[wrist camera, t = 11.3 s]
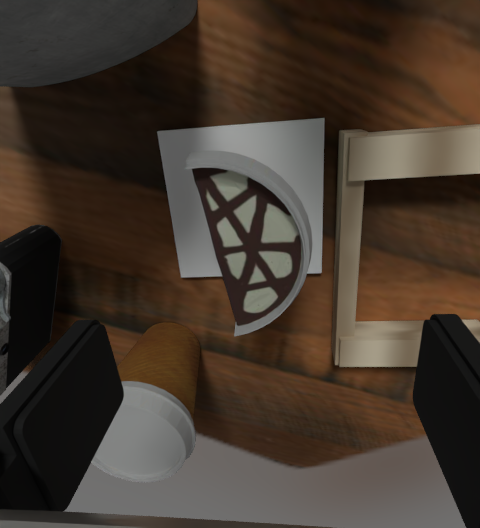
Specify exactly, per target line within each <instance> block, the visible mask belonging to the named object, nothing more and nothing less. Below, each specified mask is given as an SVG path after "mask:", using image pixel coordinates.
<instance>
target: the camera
mask: <svg viewBox="0 0 480 528" xmlns="http://www.w3.org/2000/svg"><path fill="white" fill-rule="evenodd" d="M61 243H62V239H61V238H60V236H59V235H58V234H57V233H56V232H55V231H54V230H53V229H51V228H49V227H48V226H44V225H33V226H30V227H28V228H26V229H25V230H23V231H21V232H19V233H17V234H15V235H13V236H11V237H10V238H8V239H6V240H4V241H2V242H0V395H1V394H2V393H3V392H4V391H5V390H6V388H7V387H8V386H9V385H10V384H11V383H12V382H13V380H14V379H15V378H16V377H17V376H18V375H19V374H20V373H21V372H22V371H23V370H24V368H25V367H26V366H27V365H28V364H29V363H30V362H31V361H32V360H33V359H34V358H35V356H36V355H37V354H38V353H39V352H40V351H41V350H42V349H43V348H44V347H45V346H46V345H47V343H49V342H50V340H51V331H52V322H53V313H54V305H55V296H56V287H57V278H58V268H59V259H60V251H61Z"/></svg>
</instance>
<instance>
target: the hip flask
mask: <svg viewBox="0 0 480 528" xmlns="http://www.w3.org/2000/svg"><path fill="white" fill-rule="evenodd" d="M196 10H197V0H0V86H9V87H37V86H45V85H51V84H57V83H61V82H66V81H70V80H74V79H78V78H81V77H85V76H88V75H91V74H94V73H97V72H100V71H102V70H105V69H108V68H110V67H113V66H115V65H118V64H120V63H123V62H125V61H127V60H129V59H131V58H134V57H136V56H138V55H140V54H142V53H143V52H145V51H147V50H149V49H151V48H153V47H155V46H156V45H158V44H160V43H162V42H163V41H165V40H166V39H168V38H169V37H171V36H172V35H174V34H175V33H177V32H178V31H180V30H181V29H183V28H184V27H185V26H187V25H188V24H189V23H190V22H191V21H192V20H193V18H194V16H195V14H196Z"/></svg>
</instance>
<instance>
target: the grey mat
mask: <svg viewBox="0 0 480 528" xmlns="http://www.w3.org/2000/svg"><path fill="white" fill-rule="evenodd" d="M324 120H325V118H314V119H302V120H289V121H276V122H264V123H251V124H238V125H225V126H213V127H200V128H187V129H175V130H162V131H157V134H158V140H159V146H160V152H161V158H162V164H163V171H164V177H165V183H166V189H167V195H168V201H169V207H170V213H171V219H172V225H173V231H174V237H175V243H176V249H177V255H178V261H179V267H180V273H181V278H183V277H215V276H222V273H221V270H220V267H219V264H218V262H217V259H216V255H215V251H214V247H213V243H212V239H211V235H210V231H209V227H208V224H207V220H206V216H205V213H204V209H203V205H202V202H201V198H200V195H199V192H198V188H197V186H196V184H195V181H194V176H193V172H192V169H187V170H185V168H186V166H187V163H186V161H187V158H188V156H189V154H190V153H193V152H199V151H226V152H232V153H237V154H241V155H243V156H246V157H249V158H252V159H255V160H256V161H258V162H260V163H262V164H264V165H266V166H268V167H269V168H271V169H272V170H273V171H274V172H276V173H277V174H278V175H280V176H281V177H282V178H283V179H284V180H285V181H286V182H287V183H288V184H289V185H290V186H291V187H292V189H293V190H294V191H295V193H296V194H297V196H298V197H299V199H300V200H301V202H302V204H303V206H304V209H305V211H306V213H307V215H308V219H309V223H310V227H311V233H312V254H311V260H310V264H309V268H308V271H307V274H309V273H322V227H323V173H324Z"/></svg>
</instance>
